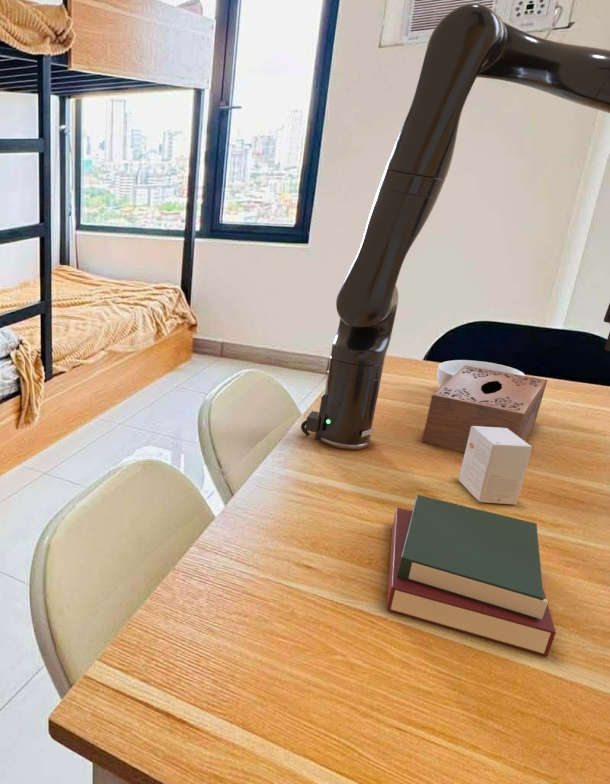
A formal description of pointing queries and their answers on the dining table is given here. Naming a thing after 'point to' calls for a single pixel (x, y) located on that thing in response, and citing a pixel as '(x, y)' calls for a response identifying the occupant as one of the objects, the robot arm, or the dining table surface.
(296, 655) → the dining table surface
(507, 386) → the tissue box cover
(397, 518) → the books
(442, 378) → the cereal bowl
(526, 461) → the small box
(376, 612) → the dining table surface
